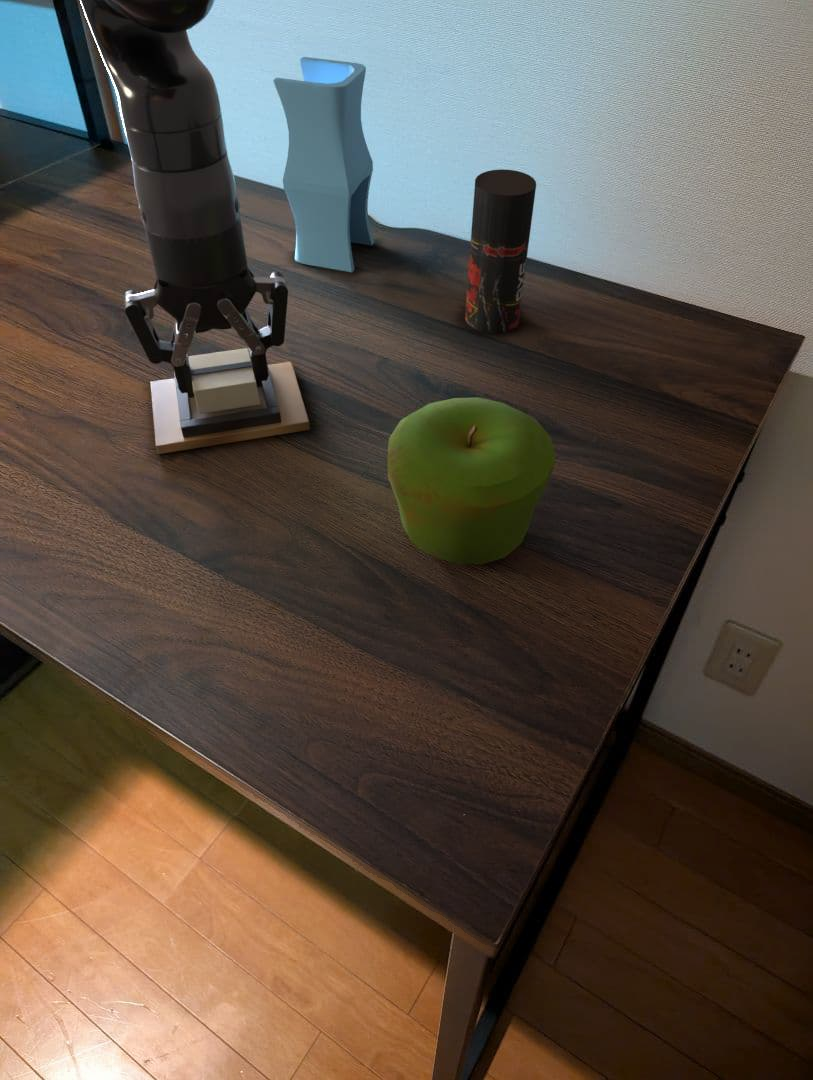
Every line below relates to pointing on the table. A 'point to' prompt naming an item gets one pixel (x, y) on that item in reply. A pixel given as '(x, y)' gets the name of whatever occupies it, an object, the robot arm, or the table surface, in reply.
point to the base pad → (227, 414)
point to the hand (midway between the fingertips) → (224, 387)
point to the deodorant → (498, 249)
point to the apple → (468, 477)
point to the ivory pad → (223, 380)
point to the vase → (327, 161)
